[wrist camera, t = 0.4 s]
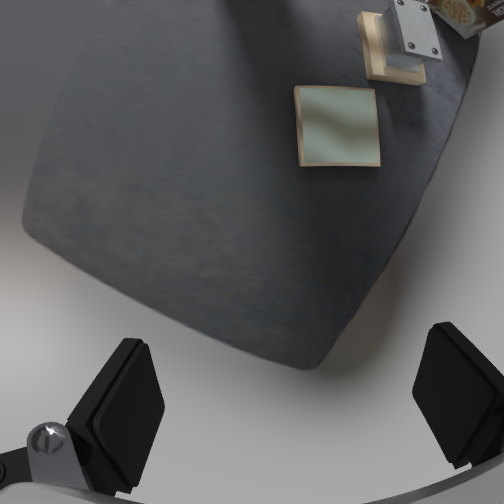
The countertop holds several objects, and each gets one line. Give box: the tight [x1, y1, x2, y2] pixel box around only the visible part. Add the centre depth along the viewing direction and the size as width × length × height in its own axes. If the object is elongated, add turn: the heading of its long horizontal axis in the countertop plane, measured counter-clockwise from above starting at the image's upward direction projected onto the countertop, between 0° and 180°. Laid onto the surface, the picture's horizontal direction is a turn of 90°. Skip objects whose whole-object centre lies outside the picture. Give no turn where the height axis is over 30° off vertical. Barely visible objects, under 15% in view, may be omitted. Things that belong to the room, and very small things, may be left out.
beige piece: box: [357, 11, 426, 86], centre depth 30 cm, size 10×8×2 cm
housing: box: [373, 0, 443, 74], centre depth 25 cm, size 8×5×7 cm, turn 4°
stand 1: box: [294, 86, 380, 166], centre depth 33 cm, size 10×10×2 cm
